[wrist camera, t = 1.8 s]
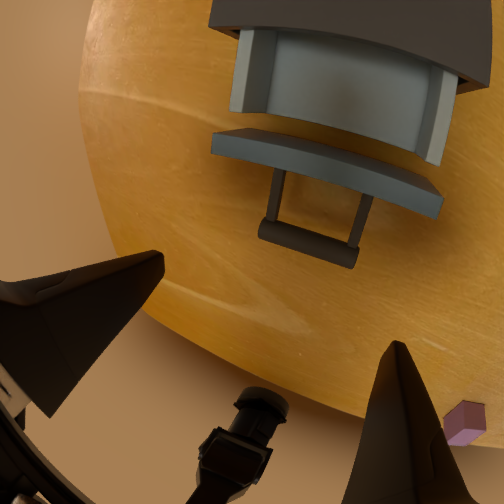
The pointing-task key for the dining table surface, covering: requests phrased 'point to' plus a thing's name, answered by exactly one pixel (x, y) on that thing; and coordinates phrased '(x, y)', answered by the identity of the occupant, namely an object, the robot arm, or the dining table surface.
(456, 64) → the cabinet
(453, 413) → the cube
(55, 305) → the robot arm
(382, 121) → the drawer
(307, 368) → the dining table surface
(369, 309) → the dining table surface
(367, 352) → the dining table surface
